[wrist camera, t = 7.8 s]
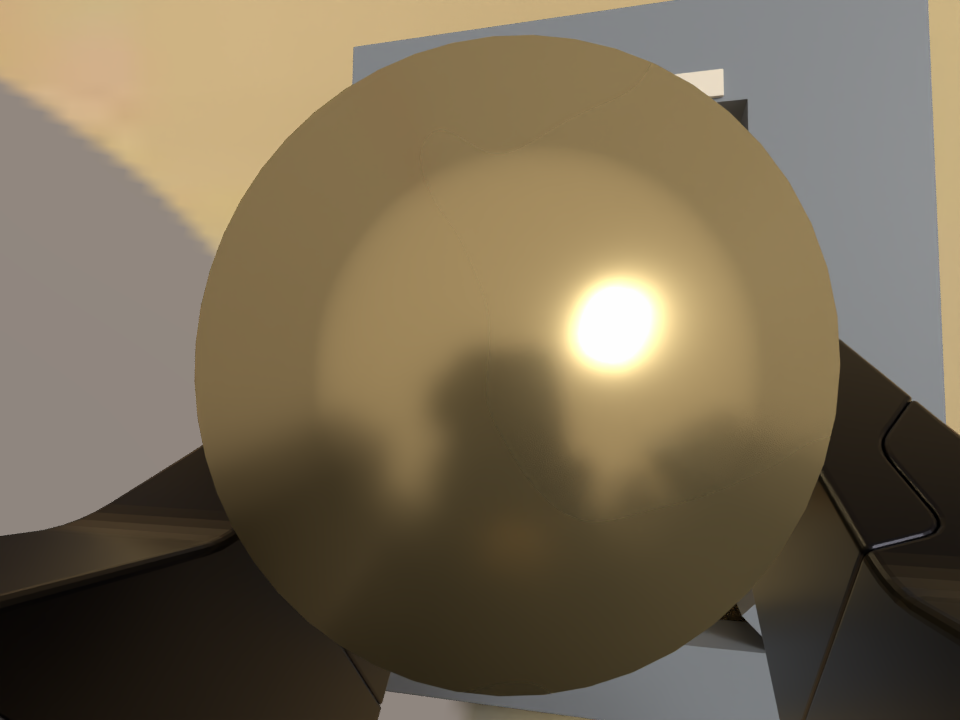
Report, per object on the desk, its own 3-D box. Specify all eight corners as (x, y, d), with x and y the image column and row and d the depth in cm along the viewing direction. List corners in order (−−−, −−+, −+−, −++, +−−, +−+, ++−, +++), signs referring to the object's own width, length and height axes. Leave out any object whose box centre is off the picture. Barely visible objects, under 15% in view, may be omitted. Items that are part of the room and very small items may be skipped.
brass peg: (665, 537, 15) (727, 1094, 3) (483, 444, 17) (-19, 542, 4) (756, 349, 15) (1253, 52, 3) (565, 269, 16) (292, -179, 4)
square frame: (917, 720, 14) (963, 771, 12) (370, 653, 17) (333, 685, 15) (891, 20, 15) (928, -41, 13) (384, 85, 19) (351, 44, 17)
